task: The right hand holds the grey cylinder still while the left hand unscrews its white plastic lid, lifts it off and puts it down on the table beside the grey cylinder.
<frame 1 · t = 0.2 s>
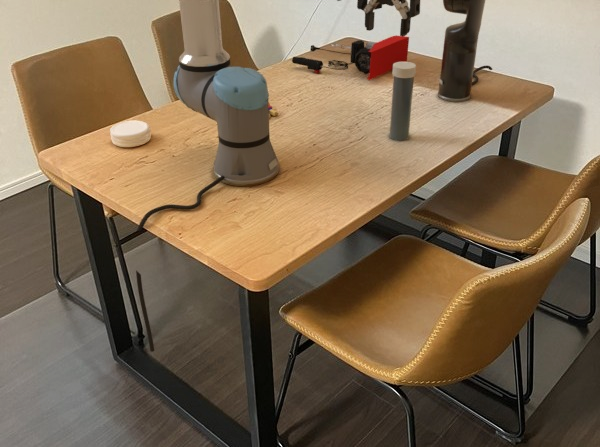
left hand: (358, 4, 166), 28 cm above the table, tool pointing down, fingers open, 13 cm apart
right hand: (386, 32, 138), 29 cm above the table, tool pointing down, fingers open, 8 cm apart
toy figure: (258, 112, 176), on the table
grey cylinder: (398, 136, 161), on the table
lid: (404, 66, 151), point 19 cm above the table, screwed on, not yet turned
white round container: (131, 140, 161), on the table
electric hoist: (349, 65, 210), on the table
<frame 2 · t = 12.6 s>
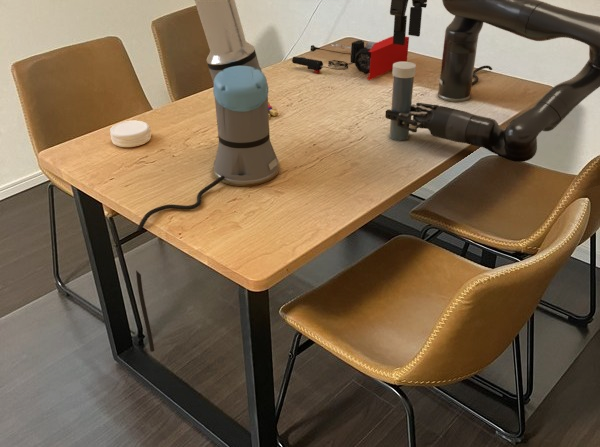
left hand: (406, 39, 148), 25 cm above the table, tool pointing down, fingers open, 8 cm apart
right hand: (391, 110, 159), 7 cm above the table, tool horizontal, fingers closed on grey cylinder, 5 cm apart
grey cylinder: (399, 136, 161), on the table, touching right hand
everything else where it was.
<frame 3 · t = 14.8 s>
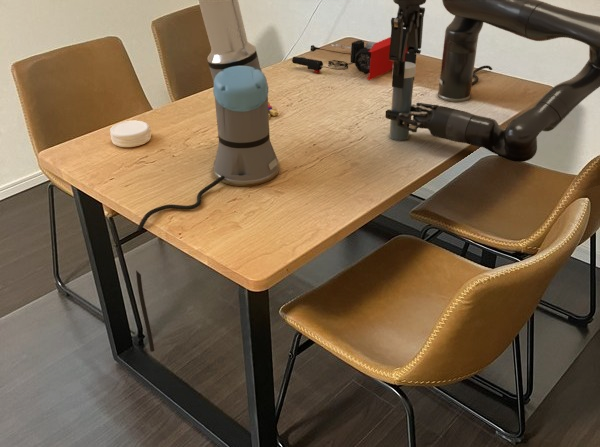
left hand: (403, 83, 153), 14 cm above the table, tool pointing down, fingers closed on lid, 6 cm apart
right hand: (391, 110, 159), 7 cm above the table, tool horizontal, fingers closed on grey cylinder, 5 cm apart
grey cylinder: (399, 136, 161), on the table, touching right hand
lid: (404, 66, 151), point 19 cm above the table, screwed on, not yet turned, touching left hand
everything else where it was.
when the left hand's fingers open (15 cm above the table, at t = 16.1 s): lid stays where it is, point 19 cm above the table.
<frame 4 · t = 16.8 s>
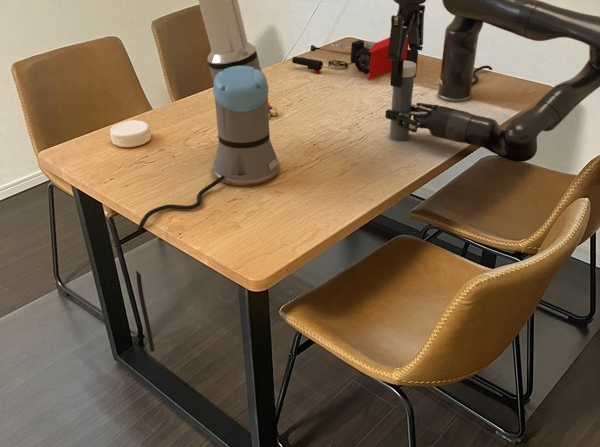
left hand: (403, 81, 153), 15 cm above the table, tool pointing down, fingers open, 8 cm apart
right hand: (391, 110, 159), 7 cm above the table, tool horizontal, fingers closed on grey cylinder, 5 cm apart
grey cylinder: (399, 136, 161), on the table, touching right hand
lid: (404, 65, 151), point 19 cm above the table, turned 73° so far, risen 0.2 cm, still on its thread
everything else where it was.
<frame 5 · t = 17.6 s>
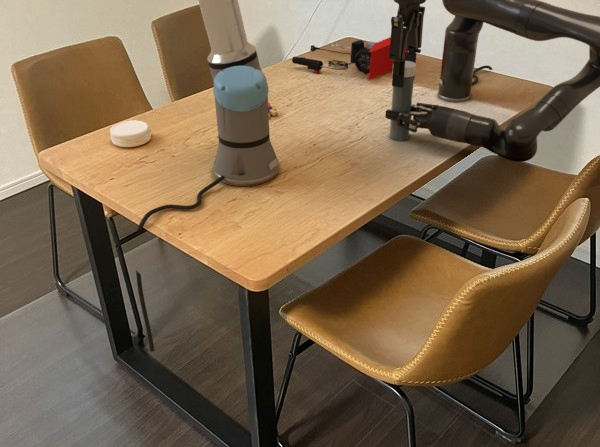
left hand: (403, 82, 153), 15 cm above the table, tool pointing down, fingers closed on lid, 6 cm apart
right hand: (391, 110, 159), 7 cm above the table, tool horizontal, fingers closed on grey cylinder, 5 cm apart
grey cylinder: (399, 136, 161), on the table, touching right hand
lid: (404, 65, 151), point 19 cm above the table, turned 73° so far, risen 0.2 cm, still on its thread, touching left hand
everything else where it was.
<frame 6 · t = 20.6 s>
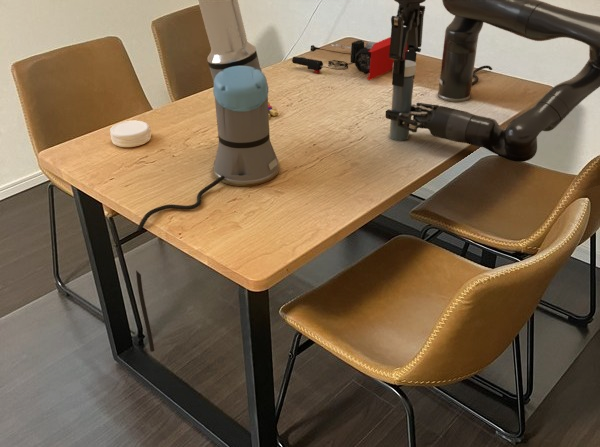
left hand: (403, 81, 153), 15 cm above the table, tool pointing down, fingers closed on lid, 6 cm apart
right hand: (391, 110, 159), 7 cm above the table, tool horizontal, fingers closed on grey cylinder, 5 cm apart
grey cylinder: (399, 136, 161), on the table, touching right hand
lid: (404, 64, 151), point 19 cm above the table, turned 145° so far, risen 0.4 cm, still on its thread, touching left hand
everything else where it was.
when the left hand's fingers open (0 cm above the table, at t = 27.3 s): lid drops 2 cm, point 2 cm above the table.
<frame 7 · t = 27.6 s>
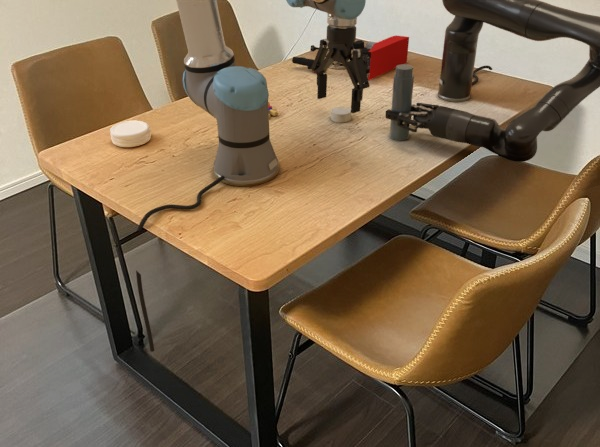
left hand: (338, 104, 169), 4 cm above the table, tool pointing down, fingers open, 13 cm apart
right hand: (391, 110, 159), 7 cm above the table, tool horizontal, fingers closed on grey cylinder, 5 cm apart
grey cylinder: (399, 136, 161), on the table, touching right hand
lid: (340, 111, 171), point 2 cm above the table, off its thread
everything else where it was.
when the right hand's fingers open (7 cm above the table, at t = 28.0 s): grey cylinder stays where it is, on the table.
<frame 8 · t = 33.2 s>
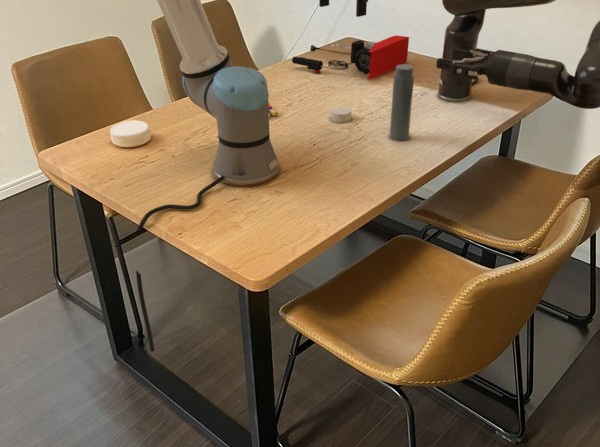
left hand: (342, 10, 156), 29 cm above the table, tool pointing down, fingers open, 13 cm apart
right hand: (445, 57, 144), 23 cm above the table, tool horizontal, fingers open, 8 cm apart
grey cylinder: (399, 136, 161), on the table
everything else where it was.
at the end: lid came off its thread; lid point 2.0 cm above the table; the left hand is holding nothing; the right hand is holding nothing; grey cylinder tilted 0°; grey cylinder moved 0.0 cm from its start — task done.
